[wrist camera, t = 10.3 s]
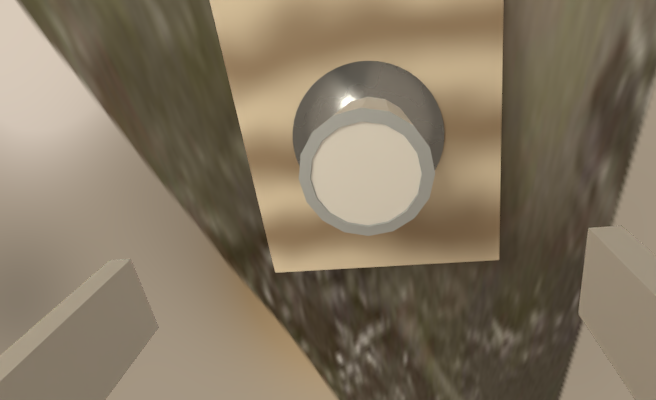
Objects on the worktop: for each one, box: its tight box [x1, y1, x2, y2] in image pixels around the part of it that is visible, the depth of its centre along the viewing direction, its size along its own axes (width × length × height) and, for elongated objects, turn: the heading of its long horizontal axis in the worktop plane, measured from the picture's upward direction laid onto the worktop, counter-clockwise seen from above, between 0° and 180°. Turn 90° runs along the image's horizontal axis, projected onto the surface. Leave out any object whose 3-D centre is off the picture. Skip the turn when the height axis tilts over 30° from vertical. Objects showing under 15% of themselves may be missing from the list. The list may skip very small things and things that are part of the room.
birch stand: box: [210, 0, 504, 273], centre depth 28 cm, size 20×17×4 cm
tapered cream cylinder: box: [299, 97, 435, 236], centre depth 23 cm, size 7×7×7 cm
